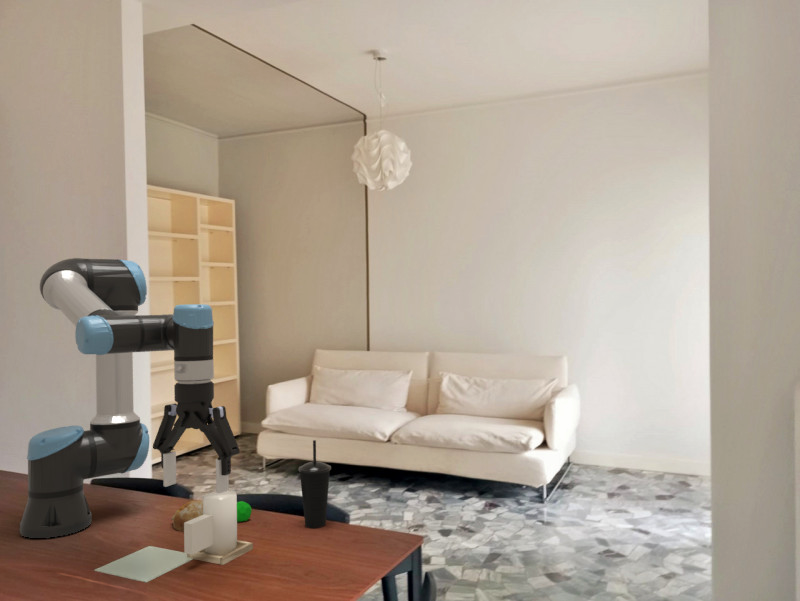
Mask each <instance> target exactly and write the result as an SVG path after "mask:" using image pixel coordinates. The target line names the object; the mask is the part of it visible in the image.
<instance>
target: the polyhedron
mask: <svg viewBox="0 0 800 601" xmlns="http://www.w3.org/2000/svg"><path fill="white" fill-rule="evenodd" d="M252 511H253V509H252V507H251V505H250V504H249V503H248V502H245V500H244V501H243V500H241V501H237V523H241V522H247V521H249V519H250V518H251V516H252Z"/></svg>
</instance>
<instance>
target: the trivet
mask: <svg viewBox="0 0 800 601" xmlns="http://www.w3.org/2000/svg"><path fill="white" fill-rule="evenodd" d="M193 560H195V559H194V558H189V557H187V554H185V553H184V551H178V550H173V549H167V548H163V547H157V546H153V545H148V546H146V547H143V548H142V549H141V548H140V550H139V549H138V550H136V551H134V552H132V553H130V554H128V555H125V556H122V557H121V558H118V559H116V560H113V561H112V562H109V563H107V564H105V565H103V566H100V567H98V568H95V569H94V570H93V571H95V572H98V573H102V574H107V575H111V576H116V577H121V578H124V579H129V580H133V581H138V582H142V583H148V582H150V581H153V580H154V579H157V578H158V577H160V576H163V575H164V574H166V573H168V572H171V571H173V570H175V569H176V568H179V567H181V566H183V565H184V564H187V563H189V562H191V561H193Z"/></svg>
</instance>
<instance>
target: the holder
mask: <svg viewBox="0 0 800 601" xmlns="http://www.w3.org/2000/svg"><path fill="white" fill-rule="evenodd" d="M252 550H254V542H249V541H245V540H239V539H237V549H236V550H234V551H232V552H231V553H229V554H227V555H225V556H223V557H222V556H217V555H211V554H206V553H204V549H203V550H201V551H199V552H197V553H195V554H193V555H190V554H187V557H189V558H194V559H193V560H197V561H201V562H206V563H212V564H217V565H221V566H224V565H226V564H228V563H230V562H232V561H233V560H235V559H237V558H239V557H240V556H243V555H244V554H247V553H248V552H250V551H252Z"/></svg>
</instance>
